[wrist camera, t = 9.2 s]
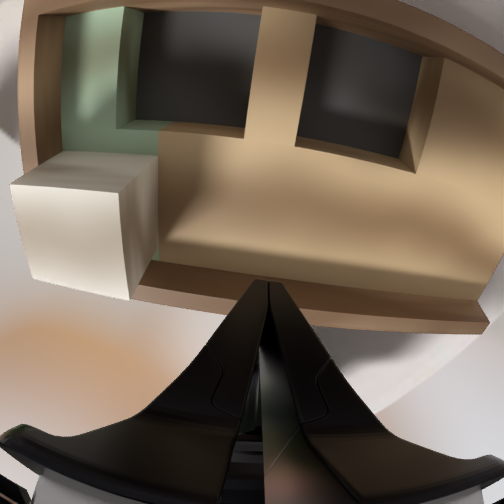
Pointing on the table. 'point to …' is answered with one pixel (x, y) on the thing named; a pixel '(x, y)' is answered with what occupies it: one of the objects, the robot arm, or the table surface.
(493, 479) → the robot arm
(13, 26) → the table surface
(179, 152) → the box
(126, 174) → the block
